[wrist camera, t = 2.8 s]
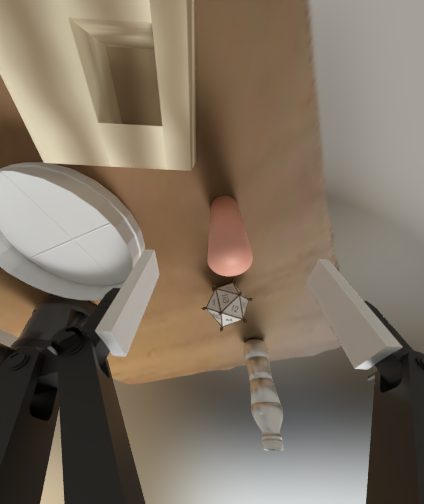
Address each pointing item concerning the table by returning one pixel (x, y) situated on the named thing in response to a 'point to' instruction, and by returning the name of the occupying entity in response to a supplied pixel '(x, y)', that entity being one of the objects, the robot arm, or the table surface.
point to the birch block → (104, 79)
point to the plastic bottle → (263, 394)
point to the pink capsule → (227, 239)
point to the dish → (65, 231)
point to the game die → (227, 304)
